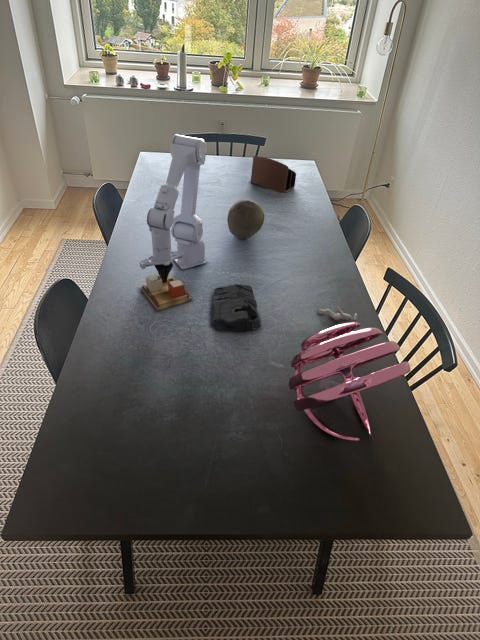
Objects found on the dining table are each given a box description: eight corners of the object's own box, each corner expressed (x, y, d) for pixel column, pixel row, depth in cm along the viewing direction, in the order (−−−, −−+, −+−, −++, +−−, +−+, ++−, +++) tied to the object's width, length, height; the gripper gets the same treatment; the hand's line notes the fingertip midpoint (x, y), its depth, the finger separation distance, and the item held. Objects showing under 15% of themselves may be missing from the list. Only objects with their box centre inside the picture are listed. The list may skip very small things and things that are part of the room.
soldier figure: (321, 309, 150) (359, 308, 145) (321, 324, 149) (358, 323, 144) (316, 305, 143) (355, 303, 138) (316, 320, 142) (355, 319, 137)
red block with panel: (179, 290, 150) (178, 278, 147) (184, 296, 147) (184, 284, 144) (168, 293, 148) (167, 281, 145) (173, 300, 145) (173, 288, 142)
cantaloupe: (242, 248, 175) (245, 213, 165) (219, 234, 182) (220, 199, 173) (268, 238, 182) (272, 203, 173) (245, 224, 190) (248, 190, 180)
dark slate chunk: (257, 290, 154) (259, 278, 151) (261, 333, 137) (262, 320, 134) (212, 288, 153) (213, 276, 150) (210, 331, 136) (210, 318, 133)
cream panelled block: (157, 284, 151) (157, 272, 148) (162, 291, 149) (162, 279, 146) (146, 288, 149) (145, 276, 146) (151, 294, 147) (150, 282, 144)
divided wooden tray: (173, 280, 156) (173, 275, 154) (190, 300, 147) (190, 295, 146) (141, 289, 150) (140, 284, 149) (157, 310, 142) (156, 305, 141)
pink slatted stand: (455, 416, 91) (401, 293, 97) (327, 464, 89) (279, 335, 94) (403, 418, 119) (363, 322, 124) (304, 454, 116) (268, 355, 121)
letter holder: (284, 194, 216) (288, 165, 207) (250, 182, 224) (252, 154, 215) (294, 187, 223) (298, 159, 214) (260, 176, 231) (263, 148, 222)
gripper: (144, 256, 135) (147, 293, 143) (188, 245, 141) (188, 281, 150) (135, 245, 139) (139, 281, 148) (178, 235, 145) (179, 270, 154)
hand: (163, 281), depth 149 cm, fingers closed
